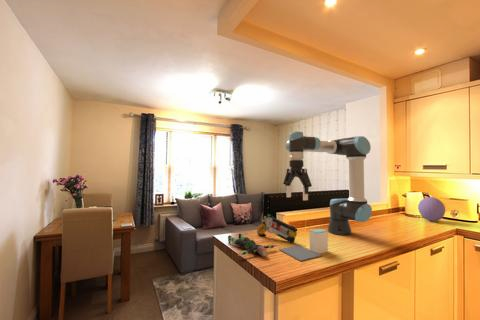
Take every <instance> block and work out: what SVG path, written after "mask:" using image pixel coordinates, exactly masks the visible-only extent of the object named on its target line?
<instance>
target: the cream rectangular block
mask: <svg viewBox="0 0 480 320" xmlns="http://www.w3.org/2000/svg"><path fill="white" fill-rule="evenodd" d="M328 235H329V232H328V229H327V230H326V229H324V228H315V229H310V230H309V250H311V251H314V252H316V253H318V254H320V255H321V254H325V253H327V252H329V243H328V241H329V239H328V238H329V236H328Z"/></svg>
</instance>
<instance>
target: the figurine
mask: <svg viewBox="0 0 480 320" xmlns="http://www.w3.org/2000/svg"><path fill="white" fill-rule="evenodd" d="M227 241H228V244H230V243H231V244H232V245H235V246H237V247H240V248H244V249H245V250H242V252H239V253H238V254H237V257H240V256H245V255H247V254H250V253H252V254H255V255H257V253H258V257H266V256H267V255H268V250H267V249H274V248H276V247H278V246H277V244H269V245H261V244H257V243H256V242H255V240H254V239H250V237H247V236H245V235H242V233H241V232H240V233H238V238H237V237H233V236H232V235H228V236H227Z"/></svg>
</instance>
